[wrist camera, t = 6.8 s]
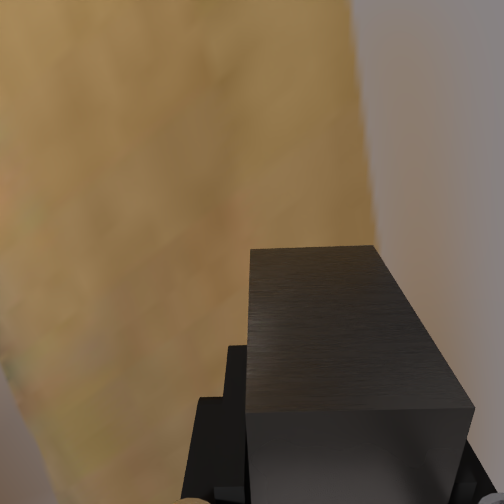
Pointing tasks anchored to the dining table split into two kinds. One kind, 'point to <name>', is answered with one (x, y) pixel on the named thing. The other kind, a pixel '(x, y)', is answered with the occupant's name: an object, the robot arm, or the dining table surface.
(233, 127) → the dining table surface
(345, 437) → the two-tone stacked blocks
